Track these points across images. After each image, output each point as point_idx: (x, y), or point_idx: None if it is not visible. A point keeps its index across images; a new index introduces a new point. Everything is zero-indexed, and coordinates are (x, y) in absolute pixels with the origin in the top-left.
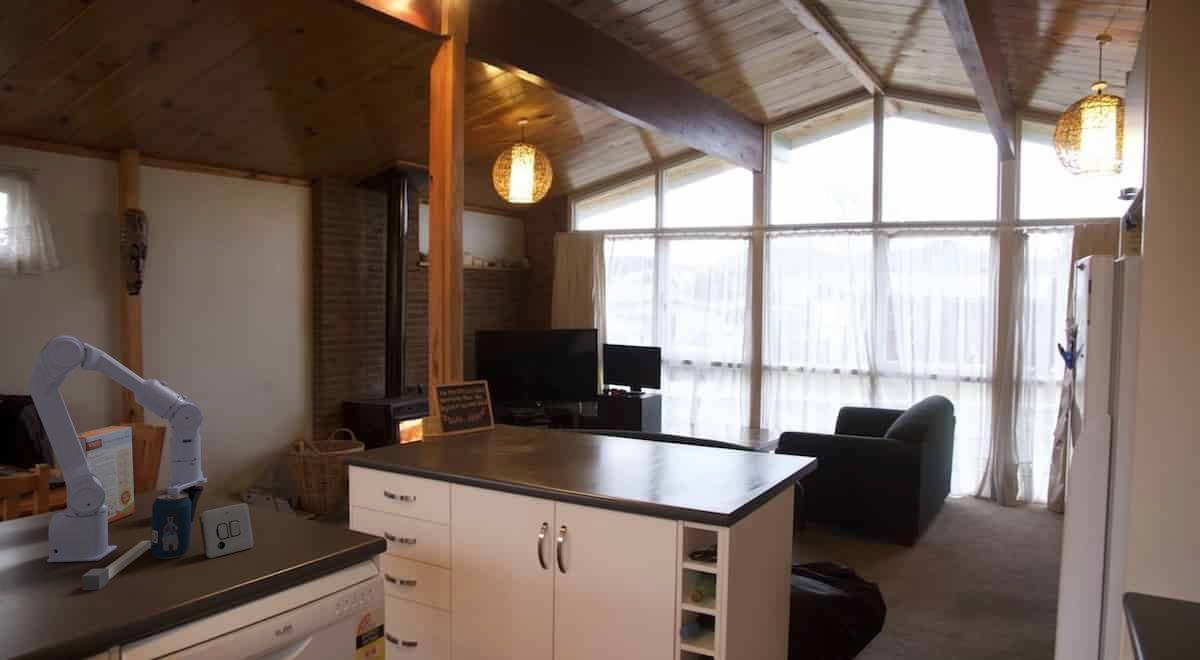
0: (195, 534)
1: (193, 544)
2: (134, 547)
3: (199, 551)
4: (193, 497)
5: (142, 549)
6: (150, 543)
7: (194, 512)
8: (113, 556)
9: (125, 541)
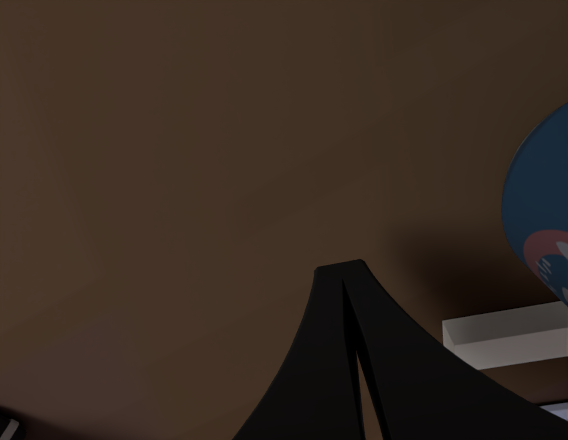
0: (216, 238)
1: (398, 150)
2: (564, 352)
3: (553, 26)
4: (556, 416)
5: (549, 318)
6: (450, 334)
7: (322, 301)
8: (554, 380)
9: None
